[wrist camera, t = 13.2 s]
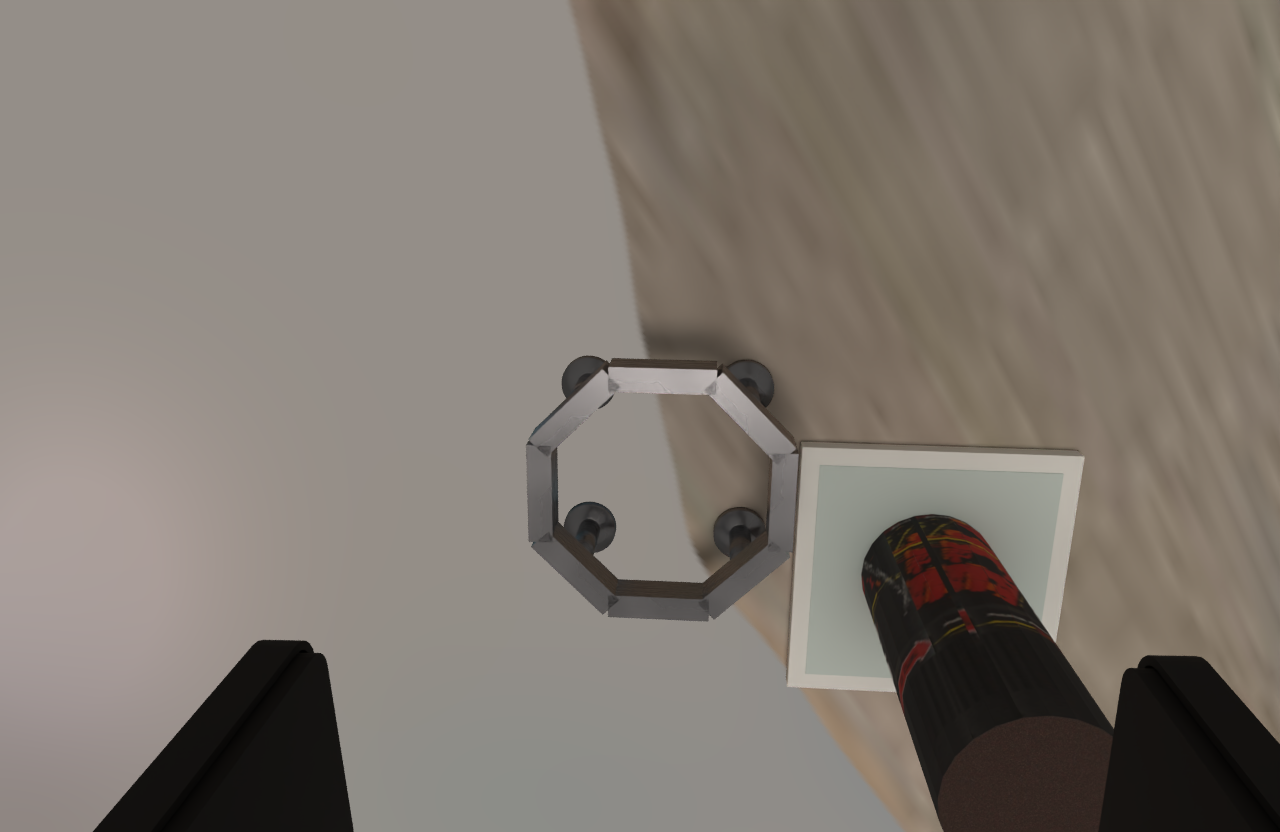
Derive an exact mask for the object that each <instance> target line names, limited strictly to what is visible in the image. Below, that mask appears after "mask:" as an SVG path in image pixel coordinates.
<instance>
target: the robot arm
mask: <svg viewBox="0 0 1280 832" xmlns="http://www.w3.org/2000/svg"><path fill="white" fill-rule="evenodd" d="M93 832H353V823H352V818H351V811H350V804H349V798H348V792H347V786H346V779H345V773H344V766H343V760H342V755H341V747H340V742H339V735H338V728H337V722H336V716H335V709H334V703H333V697H332V691H331V684H330V679H329V671H328V665H327V661H326V659H325V657H324V655H323V654H321V653H314V651H313V648H312V647H311V645H310V643H308V642H307V641H293V640H291V641H290V640H261V641H257V642H256V643H255V644H254V645H253V646H252V647H251V648H250V649H249V650H248V652H247V653H246V654H245V655H244V656H243V657H242V659H241V660H240V661H239V662H238V663H237V664H236V666H235V667H234V668H233V669H232V670H231V671H230V673H229V674H228V675H227V676H226V677H225V678H224V679H223V681H222V682H221V683H220V684H219V685H218V686H217V688H216V689H215V690H214V691H213V692H212V694H211V695H210V696H209V697H208V698H207V699H206V700H205V702H204V703H203V704H202V705H201V706H200V708H199V709H198V710H197V711H196V712H195V713H194V714H193V716H192V717H191V718H190V719H189V720H188V721H187V723H186V724H185V725H184V726H183V727H182V728H181V730H180V731H179V732H178V733H177V734H176V735H175V737H174V738H173V739H172V740H171V741H170V742H169V744H168V745H167V746H166V747H165V748H164V749H163V751H162V752H161V753H160V754H159V755H158V756H157V758H156V759H155V760H154V761H153V762H152V763H151V764H150V766H149V767H148V768H147V769H146V770H145V771H144V773H143V774H142V775H141V776H140V777H139V778H138V780H137V781H136V782H135V783H134V784H133V785H132V787H131V788H130V789H129V790H128V791H127V792H126V794H125V795H124V796H123V797H122V798H121V799H120V801H119V802H118V803H117V804H116V805H115V806H114V808H113V809H112V810H111V811H110V812H109V813H108V815H107V816H106V817H105V818H104V819H103V821H102V822H101V823H100V824H99V825H98V826H97V828H96V829H95V830H94V831H93ZM1098 832H1280V744H1279V743H1278V742H1277V741H1276V739H1275V738H1274V737H1273V736H1272V735H1271V734H1270V733H1269V731H1268V730H1267V729H1266V728H1265V727H1264V726H1263V725H1262V723H1261V722H1260V721H1259V720H1258V719H1257V718H1256V717H1255V715H1254V714H1253V713H1252V712H1251V711H1250V710H1249V709H1248V707H1247V706H1246V705H1245V704H1244V703H1243V702H1242V701H1241V699H1240V698H1239V697H1238V696H1237V695H1236V694H1235V693H1234V691H1233V690H1232V689H1231V688H1230V687H1229V686H1228V685H1227V683H1226V682H1225V681H1224V680H1223V679H1222V678H1221V677H1220V675H1219V674H1218V673H1217V672H1216V671H1215V670H1214V669H1213V667H1212V666H1211V665H1210V664H1209V663H1208V662H1207V661H1206V660H1205V659H1203V658H1202V657H1197V656H1155V655H1147V656H1145V657H1143V658H1142V659H1141V661H1140V662H1139V664H1138V668H1129V669H1127V670H1126V671H1125V672H1124V674H1123V678H1122V682H1121V688H1120V695H1119V701H1118V708H1117V714H1116V721H1115V727H1114V734H1113V740H1112V747H1111V753H1110V760H1109V766H1108V773H1107V779H1106V786H1105V792H1104V798H1103V805H1102V811H1101V818H1100V824H1099V831H1098Z"/></svg>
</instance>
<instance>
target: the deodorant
mask: <svg viewBox="0 0 1280 832" xmlns="http://www.w3.org/2000/svg"><path fill="white" fill-rule="evenodd" d="M861 577H862V589H863V592H864V595H865V598H866V601H867V604H868V607H869V610H870V613H871V616H872V619H873V622H874V625H875V628H876V631H877V635H878V638H879V641H880V644H881V647H882V650H883V653H884V656H885V659H886V662H887V665H888V668H889V671H890V674H891V677H892V680H893V683H894V686H895V689H896V692H897V695H898V698H899V701H900V704H901V707H902V710H903V713H904V716H905V719H906V722H907V725H908V728H909V731H910V734H911V737H912V740H913V743H914V746H915V749H916V752H917V755H918V758H919V761H920V764H921V767H922V770H923V773H924V776H925V779H926V782H927V785H928V788H929V791H930V794H931V798H932V801H933V804H934V807H935V810H936V813H937V816H938V819H939V821H940V824H941V826H942V829H943V831H944V832H1098V831H1099V824H1100V818H1101V811H1102V805H1103V798H1104V792H1105V786H1106V779H1107V773H1108V766H1109V760H1110V753H1111V747H1112V740H1113V734H1114V729H1113V727H1112V726H1111V724H1110V723H1109V721H1108V720H1107V718H1106V717H1105V715H1104V714H1103V712H1102V711H1101V709H1100V708H1099V707H1098V705H1097V704H1096V702H1095V701H1094V699H1093V698H1092V696H1091V695H1090V693H1089V692H1088V690H1087V689H1086V687H1085V686H1084V684H1083V683H1082V681H1081V680H1080V678H1079V677H1078V675H1077V674H1076V673H1075V671H1074V670H1073V668H1072V667H1071V665H1070V664H1069V662H1068V661H1067V659H1066V658H1065V656H1064V655H1063V653H1062V652H1061V650H1060V649H1059V647H1058V646H1057V644H1056V643H1055V642H1054V640H1053V639H1052V637H1051V636H1050V634H1049V633H1048V631H1047V630H1046V628H1045V627H1044V625H1043V624H1042V622H1041V621H1040V619H1039V618H1038V616H1037V615H1036V613H1035V612H1034V610H1033V609H1032V608H1031V606H1030V605H1029V603H1028V602H1027V600H1026V599H1025V597H1024V596H1023V594H1022V593H1021V591H1020V590H1019V588H1018V587H1017V585H1016V584H1015V582H1014V581H1013V579H1012V578H1011V577H1010V575H1009V574H1008V572H1007V571H1006V569H1005V568H1004V566H1003V565H1002V563H1001V562H1000V560H999V559H998V557H997V556H996V554H995V553H994V551H993V550H992V548H991V547H990V546H989V544H988V543H987V542H986V540H985V539H984V538H983V536H982V535H981V534H980V532H978V531H977V530H976V529H974V528H973V527H972V526H970V525H969V524H968V523H966V522H964V521H961V520H959V519H956V518H954V517H951V516H945V515H937V514H928V515H919V516H913V517H910V518H908V519H905V520H902V521H899V522H897V523H896V524H894V525H892V526H891V527H889V528H888V529H886V530H885V531H883V532H882V533H881V535H880V536H879V537H878V538H877V539H876V540H875V541H874V542H873V543H872V545H871V547H870V549H869V550H868V552H867V554H866V556H865V558H864V563H863V568H862V573H861Z"/></svg>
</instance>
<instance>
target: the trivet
mask: <svg viewBox="0 0 1280 832" xmlns="http://www.w3.org/2000/svg"><path fill="white" fill-rule="evenodd" d="M1084 458H1085V456H1084V455H1082V454H1081V453H1080V452H1079V451H1078V450H1049V449H1018V448H987V447H956V446H925V445H894V444H863V443H832V442H801V447H800V463H799V479H798V495H797V511H796V527H795V543H794V559H793V575H792V591H791V607H790V623H789V639H788V654H787V670H786V680H787V687H803V688H823V689H843V690H862V691H882V692H896V689H895V686H894V683H893V680H892V677H891V674H890V671H889V668H888V665H887V662H886V659H885V656H884V653H883V650H882V647H881V644H880V641H879V638H878V635H877V631H876V628H875V625H874V622H873V619H872V616H871V613H870V610H869V607H868V604H867V601H866V598H865V595H864V592H863V589H862V577H861V573H862V568H863V563H864V558H865V556H866V554H867V552H868V550H869V549H870V547H871V545H872V543H873V542H874V541H875V540H876V539H877V538H878V537H879V536H880V535H881V533H882V532H883V531H885V530H886V529H888V528H889V527H891V526H892V525H894V524H896V523H897V522H899V521H902V520H905V519H908V518H910V517H913V516H919V515H928V514H937V515H945V516H951V517H954V518H956V519H959V520H961V521H964V522H966V523H968V524H969V525H970V526H972V527H973V528H974V529H976V530H977V531H978V532H980V534H981V535H982V536H983V538H984V539H985V540H986V542H987V543H988V544H989V546H990V547H991V548H992V550H993V551H994V553H995V554H996V556H997V557H998V559H999V560H1000V562H1001V563H1002V565H1003V566H1004V568H1005V569H1006V571H1007V572H1008V574H1009V575H1010V577H1011V578H1012V579H1013V581H1014V582H1015V584H1016V585H1017V587H1018V588H1019V590H1020V591H1021V593H1022V594H1023V596H1024V597H1025V599H1026V600H1027V602H1028V603H1029V605H1030V606H1031V608H1032V609H1033V610H1034V612H1035V613H1036V615H1037V616H1038V618H1039V619H1040V621H1041V622H1042V624H1043V625H1044V627H1045V628H1046V630H1047V631H1048V633H1049V634H1050V636H1051V637H1052V639H1053V640H1054V642H1055V643H1056V637H1057V631H1058V625H1059V618H1060V612H1061V605H1062V599H1063V592H1064V586H1065V580H1066V573H1067V567H1068V560H1069V554H1070V547H1071V541H1072V535H1073V528H1074V522H1075V515H1076V509H1077V502H1078V496H1079V490H1080V483H1081V477H1082V470H1083V464H1084Z"/></svg>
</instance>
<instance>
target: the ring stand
mask: <svg viewBox="0 0 1280 832" xmlns="http://www.w3.org/2000/svg"><path fill="white" fill-rule="evenodd" d="M562 389H563V393H564V395H565V397H566V398H567V399H566V400H564V401H563V402H562V403H561V404H560V405H559V406H558V407H557V408H556V409H555V410H554V411H553V412H552V413H551V414H550V415H549V416H548V417H547V418H546V419H545V420H544V421H543V422H541V423H540V424H539V425H538V426H537V427H536V428H535V430H534V431H533V433H532V435H531V436H530V438H529V441H528V443H527V445H526V457H527V495H528V530H529V531H528V533H529V542H533V544H532V546H531V547H532V548H533V549H534V550H535V551H536V552H537V553H538V554H539V555H540V556H542V558H543V559H544V560H546V561H547V562H548V563H549V564H550V565H551V566H552V567H553V568H554V569H555V570H556V571H557V572H558V573H559V574H560V575H562V577H564V578H565V579H566V580H567V581H568V582H569V583H570V584H571V585H572V586H573V587H574V588H575V589H576V590H577V591H578V592H579V593H581V594H582V595H583V596H584V597H585V598H586V599H587V600H588V601H589V602H590V603H591V604H592V605H593V606H594V607H595V608H596V609H597V610H599V611H600V612H601V613H602V614H604V613H605V612H606V611H607V610H608V617H624V618H644V619H667V620H687V621H688V620H689V621H708V616H709V615H710V616H711V617H712V618H713V619H715V618H717V617H718V616H719V615H720V614H721V613H723V612H724V611H725V610H726V609H728V608H729V607H730V606H731V605H732V604H734V603H735V602H736V601H737V600H739V599H740V598H741V597H742V596H743V595H745V594H746V593H747V592H748V591H750V590H751V589H752V588H753V587H754V586H756V585H757V584H758V583H759V582H761V581H762V580H763V579H764V578H765V577H767V576H768V575H769V574H770V573H772V572H773V571H774V570H775V569H776V568H778V567H779V566H780V565H781V564H782V563H784V562H785V561H786V560H787V559H789V558H790V556H789V552H793V537H794V521H795V505H796V489H797V473H798V457H799V454H798V450H797V446H796V443H795V441H794V437H793V436H792V435H791V434H790V433H789V432H788V431H787V430H786V429H785V428H784V426H783V425H782V424H781V423H780V422H779V421H778V420H777V419H776V418H775V417H774V416H773V415H772V414H771V413H770V412H769V411H768V410H767V409H766V407H767V406H768V404H769V403H770V401H771V400H772V397H773V394H774V382H773V379H772V376H771V374H770V372H769V371H768V369H767V368H766V367H765V366H763V365H762V364H760V363H758V362H756V361H752V360H741V361H737V362H735V363H733V364H731V365H730V366H728V367H727V368H726V366H725V365H724V364H722V365H721V366H719V367H718V368H717V361H696V360H659V359H621V358H613V359H612V360H611V362H610V363H608V361H604V360H603V359H601V358H599V357H595V356H582V357H579V358H577V359H575V360H574V361H572V362H571V363H570V364H569V365H568V367H567V368H566V370H565V372H564V374H563V377H562ZM615 392H626V393H660V394H694V395H710V396H711V397H712V398H713V399H714V401H715V402H716V403H717V404H718V405H719V406H720V407H721V408H722V409H723V410H724V411H725V412H726V413H727V414H728V415H729V416H730V417H731V418H732V419H733V420H734V421H735V422H736V423H737V424H738V425H739V426H740V427H741V428H742V429H743V430H744V431H745V432H746V433H747V434H748V435H749V436H750V437H751V438H752V439H753V440H754V441H755V442H756V443H757V445H758V446H759V447H760V448H761V449H762V450H763V451H764V452H765V453H766V454H767V455H768V456H769V457H770V464H769V483H768V502H767V521H766V528H765V524H764V521H763V520H762V518H761V517H760V516H759V515H758V514H757V513H756V512H754V511H753V510H750V509H748V508H742V507H737V508H732V509H729V510H727V511H725V512H724V513H722V514H721V515H720V516H719V517H718V519H717V520H716V523H715V525H714V541H715V544H716V546H717V547H718V549H719V550H720V551H721V552H722V553H723V554H725V555H726V556H728V557H730V561H728V562H727V563H726V564H725V565H724V566H722V567H721V568H720V569H719V570H718V571H717V572H715V573H714V574H713V575H712V576H711V577H709V578H708V579H707V580H706V581H705V582H704V583H690V582H666V581H643V580H642V581H641V580H619V579H617V578H616V577H615V576H614V575H613V574H612V573H611V572H610V571H609V570H608V569H607V568H606V567H605V566H604V565H603V564H602V563H601V562H600V561H599V560H597V559H596V558H595V557H594V556H593V554H594V553H595V552H599V551H602V550H604V549H605V548H607V547H608V546H609V545H610V544H611V542H612V541H613V539H614V536H615V532H616V521H615V518H614V516H613V514H612V513H611V512H610V510H609V509H607V508H606V507H605V506H603V505H601V504H599V503H595V502H583V503H580V504H578V505H576V506H574V507H573V508H572V509H571V510H570V511H569V513H568V515H567V517H566V519H565V522H564V527H563V526H562V525H561V524H560V523H559V522H558V474H557V473H558V469H557V446H559V445H560V444H561V443H562V442H563V441H564V440H565V439H566V438H567V437H568V436H569V435H570V434H571V433H572V432H573V431H574V430H576V429H577V428H578V427H579V425H581V424H582V423H583V422H584V421H585V420H586V419H587V418H588V417H589V416H590V415H592V414H593V413H594V412H595V411H596V410H597V409H599V408H601V407H603V406H605V405H606V404H607V403H608V402H609V401H610V400H611V399H612V397H613V395H614V393H615Z"/></svg>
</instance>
